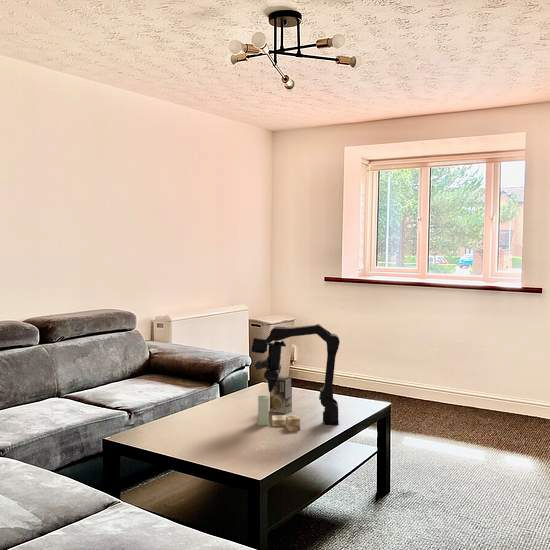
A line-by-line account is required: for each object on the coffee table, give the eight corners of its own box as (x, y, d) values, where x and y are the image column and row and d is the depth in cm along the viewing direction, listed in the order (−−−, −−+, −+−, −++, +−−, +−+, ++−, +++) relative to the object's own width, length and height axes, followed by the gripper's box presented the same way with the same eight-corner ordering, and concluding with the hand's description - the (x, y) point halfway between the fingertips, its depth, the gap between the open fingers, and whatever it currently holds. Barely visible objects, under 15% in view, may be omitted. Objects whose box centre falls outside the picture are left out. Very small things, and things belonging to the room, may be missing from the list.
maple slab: (287, 421, 268) (287, 415, 267) (288, 426, 261) (288, 420, 260) (272, 422, 267) (272, 415, 267) (272, 426, 260) (272, 420, 260)
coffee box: (292, 410, 284) (292, 377, 283) (285, 414, 278) (285, 380, 277) (276, 408, 289) (276, 375, 288) (269, 411, 283) (269, 377, 282)
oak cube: (296, 426, 260) (296, 415, 260) (300, 430, 255) (300, 418, 255) (285, 427, 259) (285, 416, 258) (288, 431, 254) (288, 419, 253)
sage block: (268, 422, 266) (268, 395, 265) (268, 425, 261) (268, 398, 261) (258, 422, 266) (258, 395, 265) (258, 425, 261) (258, 398, 261)
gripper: (258, 349, 275) (255, 382, 276) (254, 357, 257) (250, 392, 258) (282, 351, 274) (279, 385, 275) (279, 360, 256) (276, 395, 257)
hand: (271, 389), depth 266 cm, fingers open, 9 cm apart
